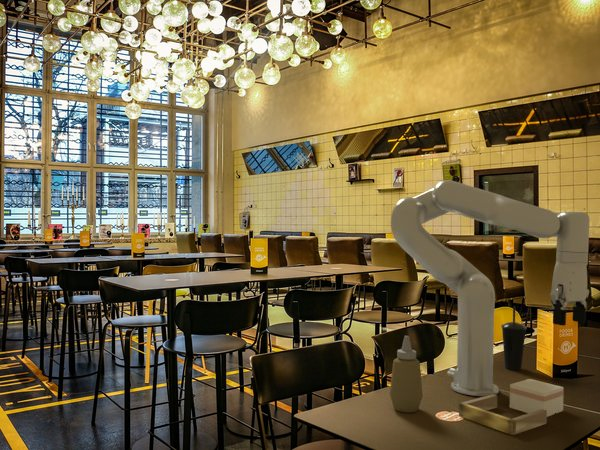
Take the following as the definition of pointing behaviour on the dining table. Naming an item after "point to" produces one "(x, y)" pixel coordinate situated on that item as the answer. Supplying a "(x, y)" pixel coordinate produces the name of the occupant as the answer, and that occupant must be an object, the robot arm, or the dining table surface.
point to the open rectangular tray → (479, 414)
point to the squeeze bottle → (406, 379)
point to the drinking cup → (513, 343)
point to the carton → (536, 396)
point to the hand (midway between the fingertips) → (569, 323)
